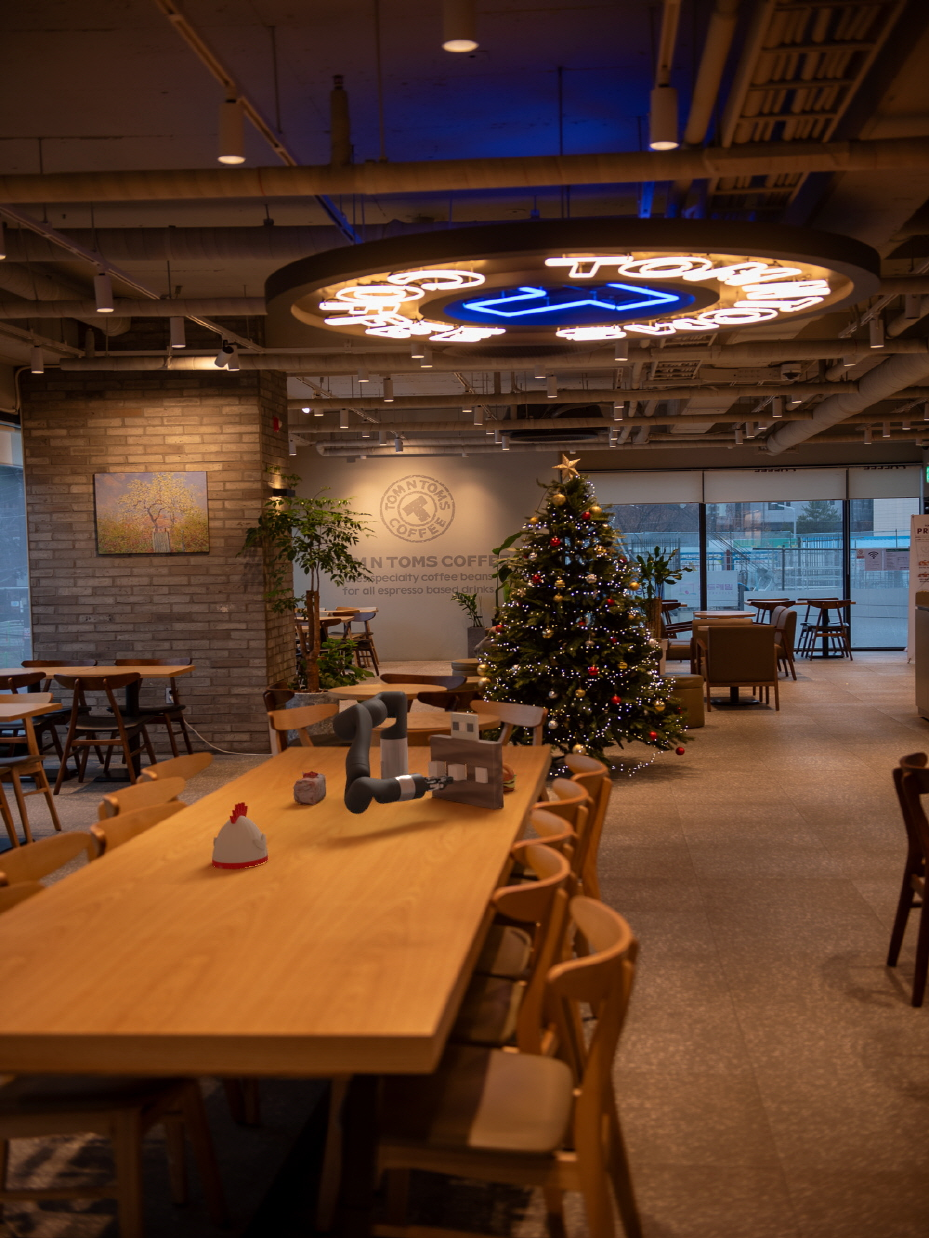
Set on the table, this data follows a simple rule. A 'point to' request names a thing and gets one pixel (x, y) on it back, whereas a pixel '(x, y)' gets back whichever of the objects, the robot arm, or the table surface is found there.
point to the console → (470, 770)
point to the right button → (481, 774)
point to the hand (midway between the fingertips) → (451, 779)
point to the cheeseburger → (508, 778)
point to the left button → (436, 768)
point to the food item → (310, 788)
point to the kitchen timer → (239, 842)
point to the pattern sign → (464, 726)
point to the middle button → (457, 771)
